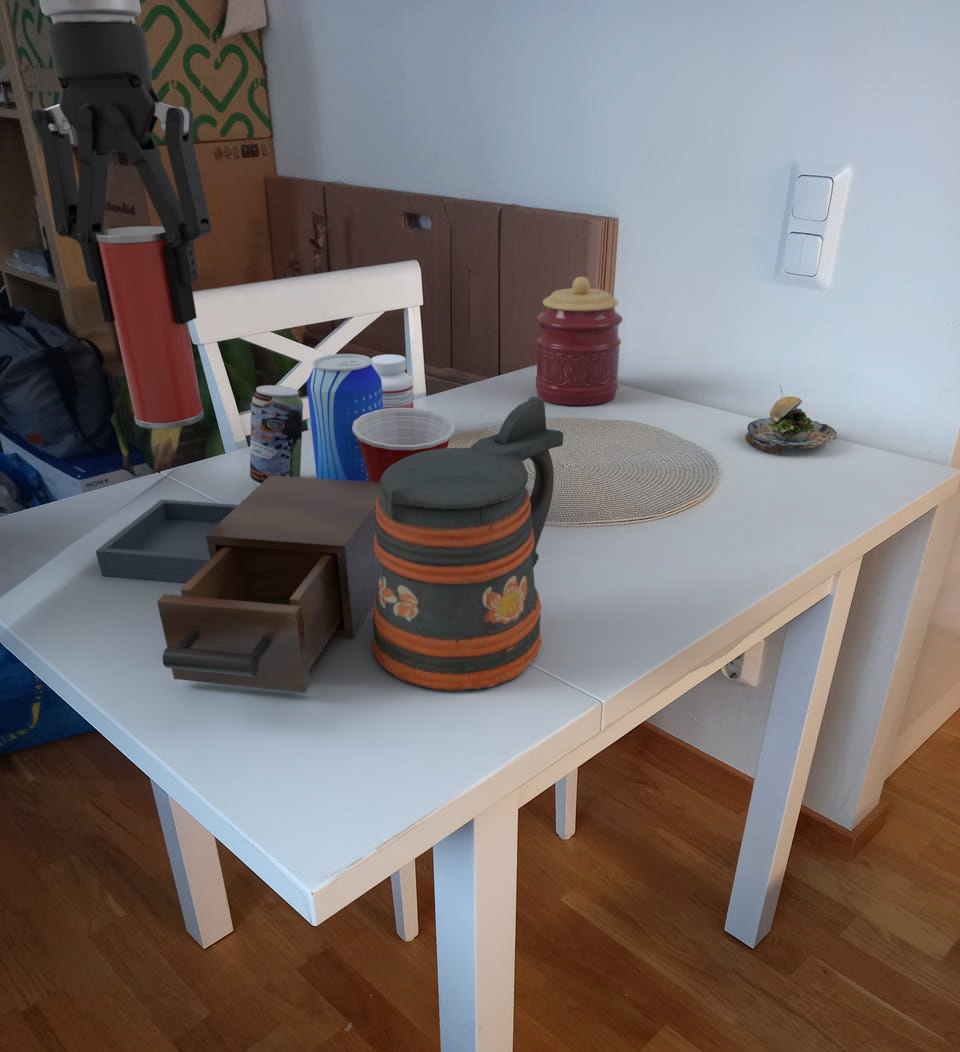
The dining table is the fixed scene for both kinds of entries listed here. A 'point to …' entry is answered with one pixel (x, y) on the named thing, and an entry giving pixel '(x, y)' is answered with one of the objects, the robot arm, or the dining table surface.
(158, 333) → the tin
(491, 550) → the beer stein
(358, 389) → the beer can
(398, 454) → the plastic cup
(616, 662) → the dining table surface
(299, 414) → the beverage can
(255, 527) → the cabinet
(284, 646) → the drawer
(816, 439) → the burger
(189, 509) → the tray
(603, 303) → the kitchen canister
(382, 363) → the pill bottle
